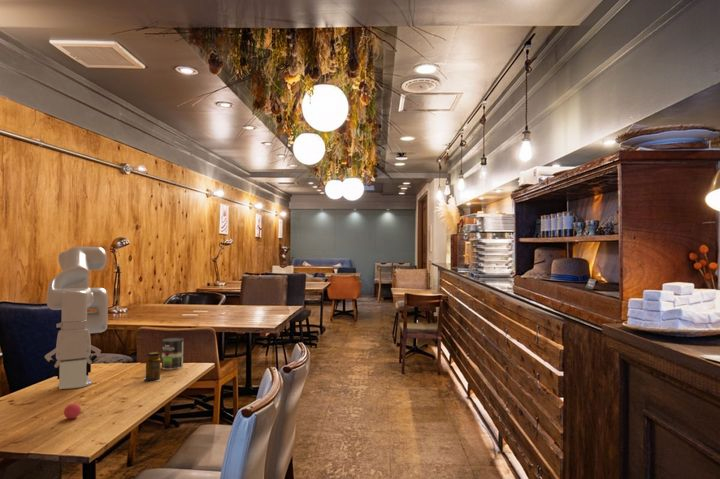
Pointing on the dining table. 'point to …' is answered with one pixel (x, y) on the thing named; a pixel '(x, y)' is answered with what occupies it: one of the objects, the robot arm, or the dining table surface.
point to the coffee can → (172, 353)
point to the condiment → (153, 367)
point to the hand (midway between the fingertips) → (73, 376)
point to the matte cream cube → (72, 373)
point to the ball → (72, 411)
